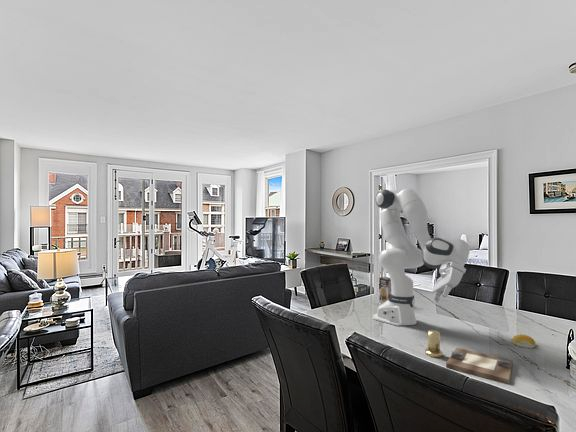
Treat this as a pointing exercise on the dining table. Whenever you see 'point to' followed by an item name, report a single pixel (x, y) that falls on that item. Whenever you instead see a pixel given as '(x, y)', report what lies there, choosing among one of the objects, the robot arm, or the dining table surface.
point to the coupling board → (481, 365)
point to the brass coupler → (434, 344)
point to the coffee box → (384, 288)
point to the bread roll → (523, 341)
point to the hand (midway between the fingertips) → (439, 298)
